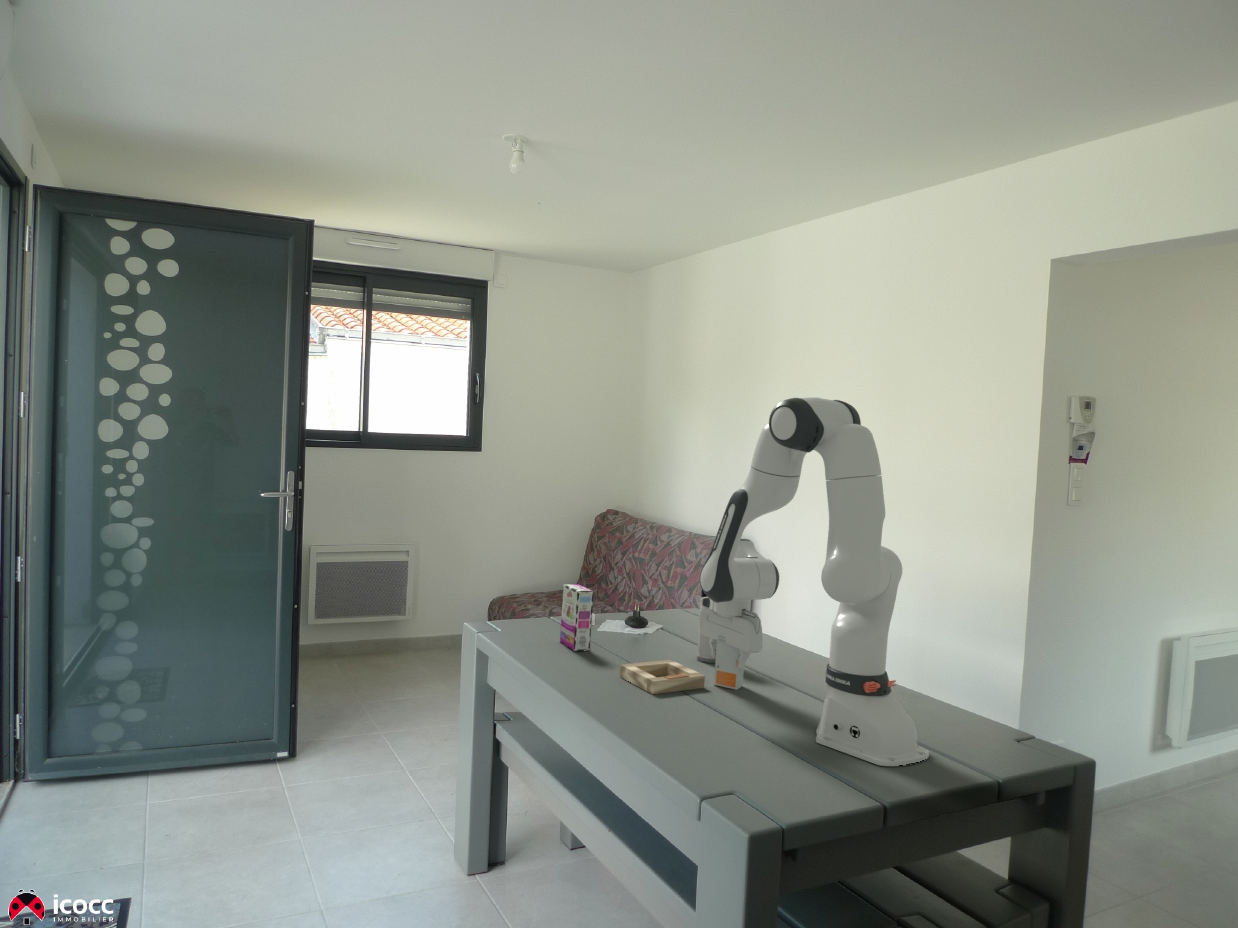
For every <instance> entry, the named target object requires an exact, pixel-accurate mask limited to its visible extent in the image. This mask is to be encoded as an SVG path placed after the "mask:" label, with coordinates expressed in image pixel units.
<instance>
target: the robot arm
mask: <svg viewBox="0 0 1238 928" xmlns="http://www.w3.org/2000/svg"><path fill="white" fill-rule="evenodd" d="M813 451H815V452H817V453H818V454H819V455H820V456H821V458H822V460H823V465H824V466H823V467H824V476H825V487H826V495H827V497H826V498H827V506H828V507H827V508H828V532H827V544H826V555H825V562H824V565H823V567H822V569H821V576H820V579H821V583H822V585H821V586H822V588H823V590H824V591H825V592H826V594H827V595H828V596H829V598H831V599H832V600H835V602H838V603H839V605H838V609H837V613H836V615H835V618H834V620H833V622H832V625H831V628H830V629H831V631H830V642H829V643H830V645H829V661H828V663H827V664H826V670H825V683H826V691H825V695H824V696H825V697H824V700H823V705H822V709H821V716H820V719H819V722H818V725H817V727H816V730H815V733H816V738H815V742H816V743H817V744H819V745H822V746H825V747H828V748H830V749H834V750H836V751H839V752H841V753H844V754H846V755H850V756H853V757H856V758H857V759H861V760H863V761H865V762H869V763H872V764H875V765H877V766H881V767H882V766H883V767H900V766H899V765H903V766H907V765H906V764H909V763H915V762H919V763H921V762H920V761H922V760H924V761H926V760H927V759H929V757H930V751H929V750H928V749H926V748H925V747H923V746H921V745H919V744H918V733H917V732H918V731H917V727H916V723H915V721H914V720H913V719H912V718H911V716H910V715H909V714H908V713H907V712H906V711H905V709H904V708H903V707H902V705H901V704H900V703H899V702H898V700H897V699H896V697H894V696H893V694H892V687H896V684H894V683H897V680H895V679H894V680H890V679H889V675H888V673H887V672H888V671H886V667H887V665H886V664H887V653H888V639H889V632H890V631H889V630H890V625H891V621H892V618H893V617H892V616H893V613H894V609H895V604H896V601H897V600H896V599H897V594H898V588H899V584H900V582H901V579H902V575H903V566H902V562H901V559H900V558H899V556H898V555H897V554H896V553H895V552H894V551H893V550H891V549H890V548H887V547H885V546H883V545H882V537H883V536H882V535H883V534H882V533H883V526H884V523H885V518H886V505H885V497H884V496H885V495H884V487H883V486H884V485H883V478H882V477H883V476H882V468H881V464H880V457H879V453H878V449H877V445H876V441H875V439H874V436H873V433H872V432H871V430H870V428H869V429H868V428H867V427H866V426H864V425H862V422H861V417H860V414H859V412H858V410H857V409H856V408H855V407H854V406H853V405H851V404H850V403H848V402H846V401H842V400H840V399H828V398H822V397H791V398H788V399H784V400H781V401H780V402H778V403H777V404H776V405H774V407H773V408H772V409H771V412H770V414H769V419H768V423H766V424H764V426H763V428H762V429H761V432H760V434H759V436H758V439H757V442H756V444H755V448H754V452H753V456H752V461H751V465H750V469H749V472H748V475H747V477H746V479H745V480H744V482H743V484H742V485H741V486H740V488H738V489H737V490H736V491H734V492H733V493H732V495H731V497H730V498H729V500H728V502H727V505H726V507H725V511H724V513H723V516H722V518H721V521H720V524H719V527H718V530H717V533H716V535H715V538H714V541H713V543H712V547H711V550H710V552H709V554H708V556H707V558H706V560H705V562H704V564H703V565H702V568H701V571H700V574H699V584H700V585H699V587H700V588H701V591H702V590H703V592H704V593H705V594H706V595H707V596H708V597H702V598H701V597H700V604H701V606H703V607H702V608H701V610H700V609H699V621H698V631H699V630H700V633H701V634H702V635H705V636H707V637H709V643H710V647H711V649H712V651H711V656H712V657H715V658H716V648H717V637H718V636H719V635H720V636H722V637H724V638H726V644H727V645H730V646H732V647H735V648H737V649H739V654H741V655H740V658H739V660H736V667H738V668H740V669H742V668H744V669H745V668H746V663H747V660H748V658H749V656H750V655H751V654H758V653H760V652H761V651H762V650H763V627H762V620H761V618H760V617H759V615H758V614H757V613H756V612H753V611H751V606H752V601H753V600H754V601H756V600H767V599H771V598H772V597H773V596H775V594H776V592H777V590H778V589H779V584H780V572H779V569H778V567H777V566H776V564H775V563H774V562H773V560H770V559H769V558H766V557H765V556H763V555H762V554H761V553H759V551H758V550H757V549H756V547H755V543H754V541H752V540H750V539H749V538H742V536H743V534H744V532H745V530H746V527H748V525H749V524H751V522H753V521H754V520H756V519H757V518H761V517H762V516H764V515H767V514H769V513H773V512H777V511H778V510H781V509H782V508H784V507H785V506H787V505H789V503H790V502H792V500H794V497H795V496H796V493H797V491H798V487H799V484H800V479H801V474H802V468H803V463H804V459H805V457H806V455H807V454H808V453H811V452H813ZM925 759H926V760H925ZM922 762H923V761H922ZM915 764H916V763H915Z"/></svg>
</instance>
